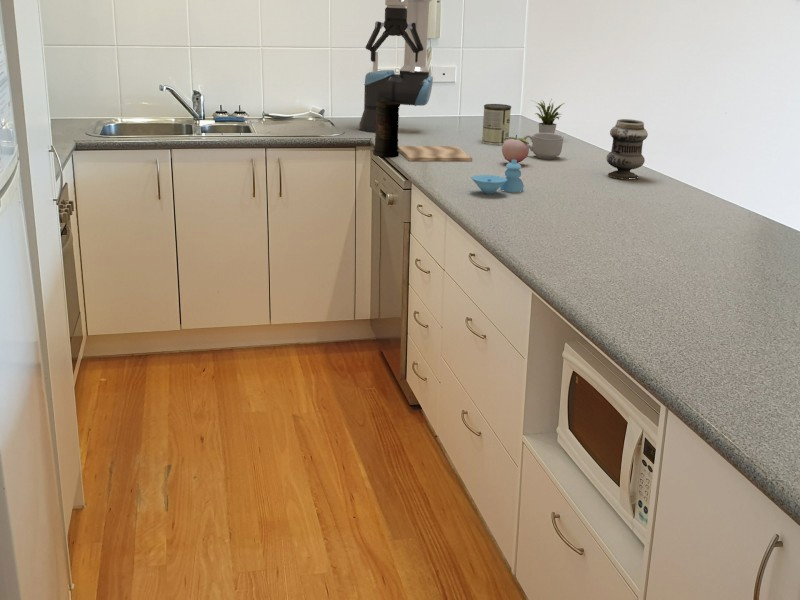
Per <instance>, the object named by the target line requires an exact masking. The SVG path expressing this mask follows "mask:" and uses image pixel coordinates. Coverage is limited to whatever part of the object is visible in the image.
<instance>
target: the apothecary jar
mask: <svg viewBox="0 0 800 600" xmlns="http://www.w3.org/2000/svg"><path fill="white" fill-rule="evenodd" d="M609 135H610V136H611V137H612V145H611V150H610V152H609V153H608V154H606V157H605V158H606V159H605V160H606V161H607V164H609V165H610V166H611V167H613V168H615V169H616V170H613V171H612V172H608V173H607V176H608V177H610V176H611V177H610V178H612V177H615V178H614V179H617V178H623V179H622V180H625V179H629V178H637V177H639V175H637V174H636V173H634V172H632V171H631V170H635V169H639V168H640V167H642V166H644V164H645V161H646V160H645V157H644V156H643V154H642V153H643V145H644V144H643V143H644V141H645V140H647V138H648V136H649V132H648V130H646V128H645V123H644V121H642V120H638V119H631V118H630V119H629V118H627V119H626V118H622V119H621V118H620V119H617V120H616V123H615V126H613V127H611V129H610V131H609Z"/></svg>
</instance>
